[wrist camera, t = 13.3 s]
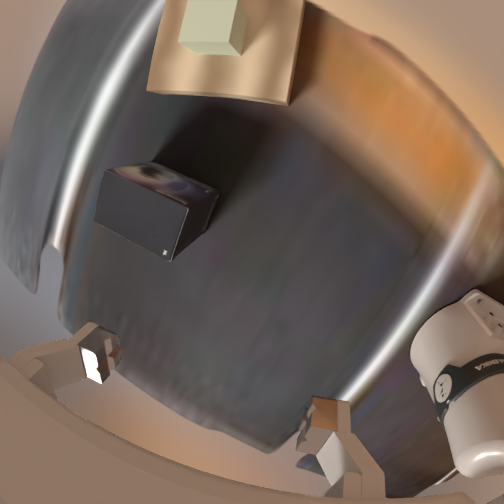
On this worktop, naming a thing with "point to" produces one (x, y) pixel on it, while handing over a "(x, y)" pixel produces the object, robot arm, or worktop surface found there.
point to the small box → (155, 207)
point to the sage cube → (214, 27)
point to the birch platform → (228, 66)
